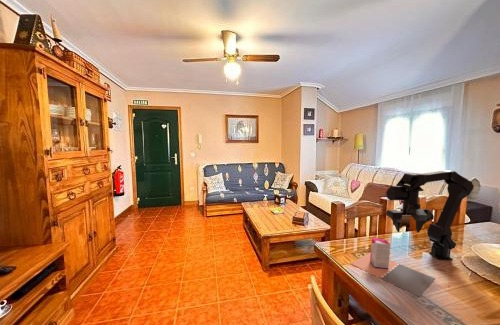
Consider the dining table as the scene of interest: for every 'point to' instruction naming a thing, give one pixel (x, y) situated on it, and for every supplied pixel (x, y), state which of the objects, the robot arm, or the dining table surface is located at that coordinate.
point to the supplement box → (380, 253)
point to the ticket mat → (397, 275)
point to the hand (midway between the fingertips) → (407, 232)
